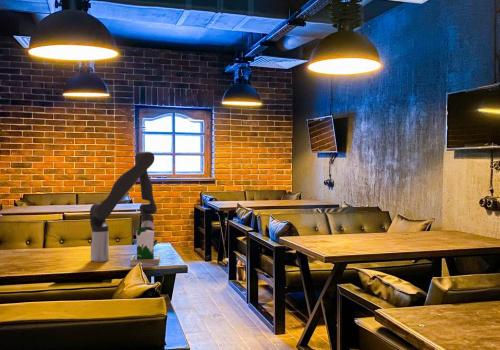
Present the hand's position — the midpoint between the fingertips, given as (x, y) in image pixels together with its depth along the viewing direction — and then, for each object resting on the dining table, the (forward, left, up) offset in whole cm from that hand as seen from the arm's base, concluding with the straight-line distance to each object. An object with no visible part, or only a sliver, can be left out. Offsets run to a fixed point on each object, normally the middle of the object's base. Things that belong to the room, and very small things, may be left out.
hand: (146, 254), depth 284 cm
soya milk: (+3, -4, -4) cm, 6 cm away
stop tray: (+3, -4, -4) cm, 6 cm away
